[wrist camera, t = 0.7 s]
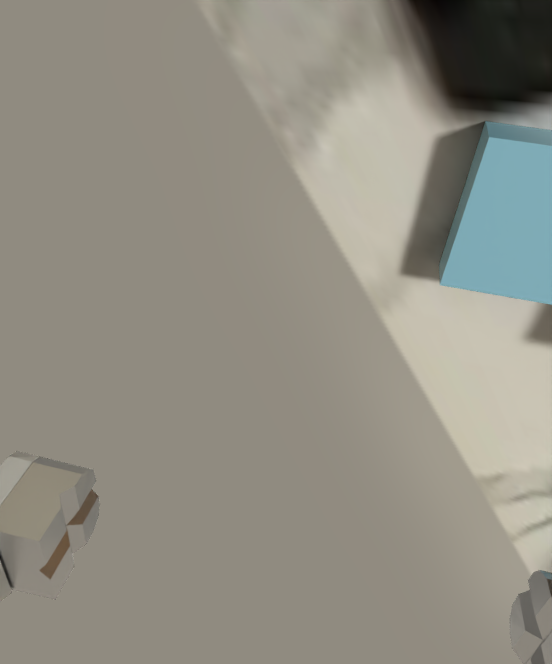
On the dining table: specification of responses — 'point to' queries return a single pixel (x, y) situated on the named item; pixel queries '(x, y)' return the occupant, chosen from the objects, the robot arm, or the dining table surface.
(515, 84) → the dining table surface
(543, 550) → the dining table surface
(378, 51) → the dining table surface
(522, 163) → the light blue flat block
